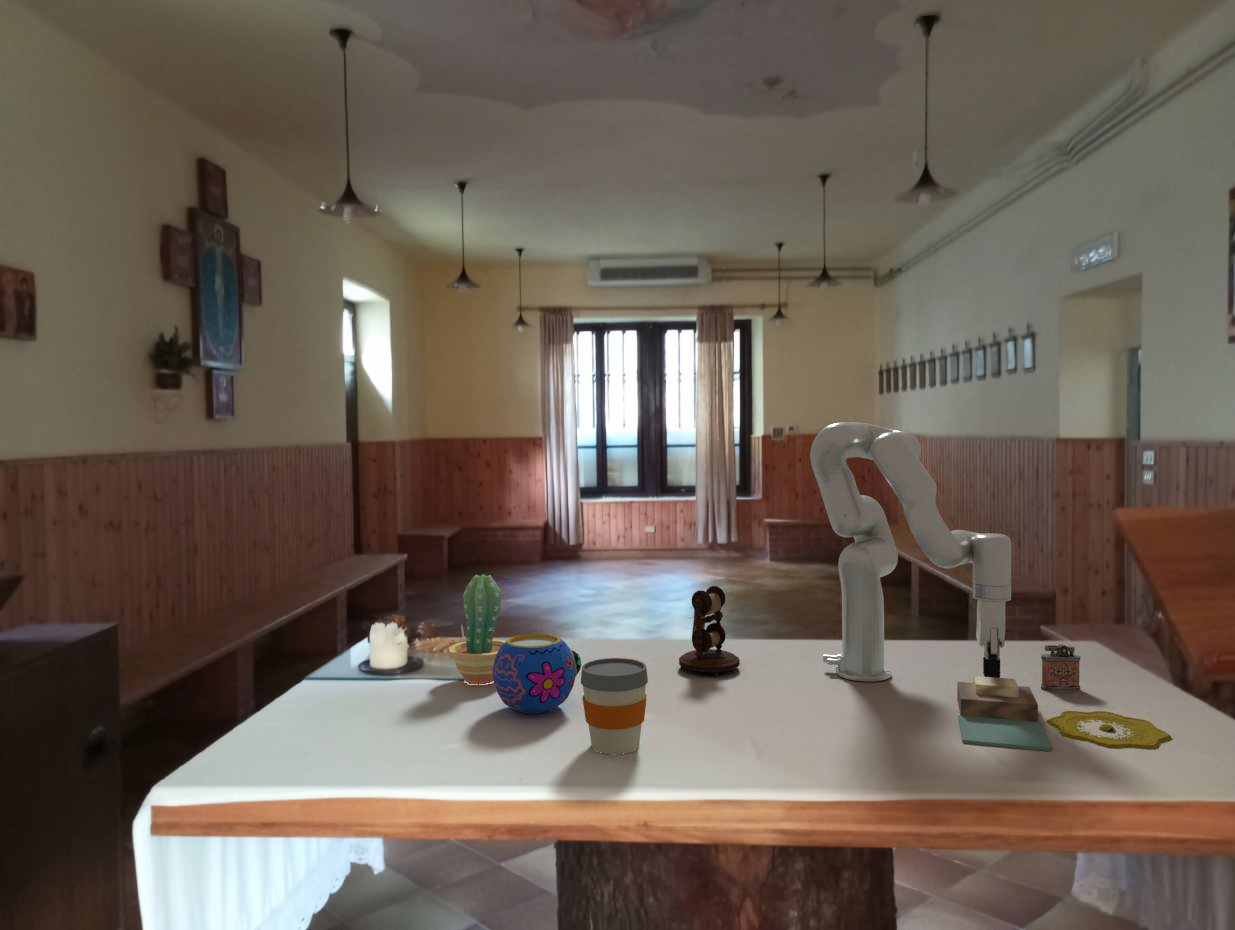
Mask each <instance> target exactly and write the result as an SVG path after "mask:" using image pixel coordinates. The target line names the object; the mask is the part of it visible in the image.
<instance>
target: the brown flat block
mask: <svg viewBox="0 0 1235 930" xmlns="http://www.w3.org/2000/svg"><path fill="white" fill-rule="evenodd" d="M956 685H957V690H956V693H957V694H956V695H957V699H956V701H957V705H958V710H959V715H961V716H973V717H985V718H996V719H1008V720H1020V721H1032V722H1039V704H1038V702H1037V700H1036V698H1035V695H1034V694H1033V691H1032V689H1031V687H1030V686H1023V685H1018V687H1019V697H1008V696H995V695H982V694H975V690H974V686H973V682H968V681H967V682H966V681H957V683H956Z"/></svg>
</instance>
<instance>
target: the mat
mask: <svg viewBox="0 0 1235 930" xmlns="http://www.w3.org/2000/svg"><path fill="white" fill-rule="evenodd" d="M957 720H958V724H959V725H958V726H959V729H960V730H959V731H960V734H961V735H960V737H961V741H962V744H970V745H980V746H992V747H1002V748H1012V749H1013V748H1014V749H1021V750H1022V749H1024V750H1032V751H1033V750H1034V751H1041V752H1042V751H1044V752H1045V751H1046V752H1053V746H1052V744H1051V741H1050V739H1049V737H1048V735H1047V733H1046V731H1045V729H1044V726H1043V724H1042V722H1041V721H1040V722H1039V721H1038V722H1032V721H1020V720H1008V719H996V718H985V717H973V716H961V715H960V714H959V715H957Z"/></svg>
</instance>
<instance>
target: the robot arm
mask: <svg viewBox="0 0 1235 930" xmlns="http://www.w3.org/2000/svg"><path fill="white" fill-rule="evenodd" d="M810 447H811V448H810V455H809V456H810V457H809V458H810V463H811V468H812V471H813V473H814V476H815V480H816V482H817V484H818V488H819V492H820V496H821V498H822V502H823V505H824V508H825V510H826V514H827V516H828V520H829V523H830V525H831V528H832V530H833V531H834V533H835V534H837V535H838V536H840V537H843V538H853V539H854V542H852V543H850V544H849V545H847V546H846V547H845V548H844V549H842V551H841V553H840V555H839V557H838V565H837V566H838V567H837V569H838V575H839V581H840V588H841V619H842V620H841V625H842V626H841V632H842V633H841V634H842V636H841V637H842V639H841V640H842V641H841V642H842V645H841V646H842V648H841V649H842V650H841V652H840V653H837V654H836V655H833V654H825V653H824V654H823V657H822V660H823V663H827V665H831V666H832V665H833V666H834V665H837V666H836V667H835V674H836V675H837V676H838V677H840V678H843V679H846V680H850V681H856V682H867V683H869V682H882V681H886V680H888V679H890V678H891V677H892V671H891V669H890V668H888V667H886V666H885V601H884V599H885V598H884V592H883V591H884V590H883V588H882V587H883V586H882V582H881V578H882V577H885V576H887V575H889V574H891V573H892V572H893V571H894V570H895V569H896V567H897V565H898V562H899V561H898V560H899V553H898V550H897V546H896V543H895V540H894V537H893V534H892V531H891V529H890V525H889V523H888V519H887V517H886V514H885V511H884V509H883V507H882V506H881V504H880V503H879V502H878V500H876V499H875V498H873V497H871V496H869V495H863V494H860V491H859V488H858V486H857V482H856V479H855V475H854V474H853V472H852V471H851V469H850V467H849V465H848V463H847V462H846V460H847V459H848V458H850V459H851V458H862V459H867V460H871V461H873V462H874V464H876V466H877V468H878V469H879V471H880V473H881V474H882V476H883V477H884V478H885V480H886V482H887V483H888V484H889V486H890V488H892V490H893V492H894V494H895V495H896V496H897V498H898V500H899V501H900V503H901V505H902V507H903V508H902V509H903V512H904V516H905V519H906V523H907V525H908V528H909V530H910V532H911V534H912V536H913V538H914V540H915V541H916V542H917V544H918V546H919V547H920V549H921V550H922V552H923V554H924V555H926V557H927V559H928V560H929V561H931V563H933V564H934V565H935V566H937V567H939V568H940V569H941V568H942V569H953V568H956V567H959V566H961V565H967V564H972V599H975V600H977V602H976V603H977V604H976V631H975V632H976V634H975V635H976V640H977V643H978V646H979V647H981V648H983V656H982V659H983V660H982V661H983V664H982V665H983V666H982V668H983V669H982V671H983V672H982V673H983V677H994V678H1001V658H1000V654H1001V651H1000V650H1001V649H1002V648H1004V647H1005V640H1006V639H1005V638H1006V602H1009V601H1011V600H1012V541H1011V539H1010V537H1009V536H1008V535H1006V534H1001V533H992V532H991V533H989V532H988V533H987V532H986V533H980V532H974V531H969V530H963V529H956V530H955V529H954V530H950V528H949V526H947V524H946V523H945V520H944V519H943V517H942V516H941V514H940V512H939V509H938V506H937V502H936V498H937V497H936V496H937V485H936V481H935V480H934V479H933V477H932V476H931V474H930V473H929V472H928V471H927V469H926V467H925V466H924V465H923V464H924V463H922V461H921V460H920V458H921V454H922V447H921V443H920V441H919V440H918V438H917V437H916V436H915V435H913V434H911V433H910V432H907V431H903V430H897V429H894V428H889V427H885V426H880V425H877V424H872V423H865V422H859V421H856V422H853V421H852V422H850V421H849V422H848V421H847V422H846V421H845V422H844V421H843V422H842V421H841V422H835V423H832V424H829V425H827V426H825V427H824V428H823V429H821V430H820V431H819V432H818V433H817V435H815V438H814V439H813V441H812V444H811V446H810Z"/></svg>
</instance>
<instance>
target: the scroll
mask: <svg viewBox="0 0 1235 930" xmlns="http://www.w3.org/2000/svg"><path fill="white" fill-rule="evenodd" d="M726 598H727V597H726V594H725V592H724V590H723V589H722V588H721V587H720V586H718V585H711V586H710V587H708V588H707V589H706V591H705V590H696V591H695V592H694V593H693V595H692V597H691V605H692V608H693V610H694V611H693V623H692V631H691V633H692V634H691V642H692V643H691V644H692V647H693V648H694V650H691V651H688V652H685V653H684V654H682V655H681V656H680V657H679V658H678V664H679V666H680V670H681V671H682V672H684V671H685V670H689V671H694V672H701V673H703V672H704V673H714V676H715V678H718V677H719V675H720V672H727V671H732V670H735V669H736V668H738V667H739V666H740V661H741V660H740V658H739V656H737V655H735V654H734V653H732V652H729V651H726V650H722V648H723V644H725V641H726V631H725V629H724V627H723V626H722V624H721V621H722V619H723V617H724V616H723V612H722V611H721V610H722V607H723V606H724V605H725V603H726V600H727V599H726ZM713 621H716V623H715V622H714V623H711V622H713ZM706 623H707V624H708V623H710V624H708V625H707V626H706V628H705V625H706ZM714 647H715V648H716V649H712V648H714Z"/></svg>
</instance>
